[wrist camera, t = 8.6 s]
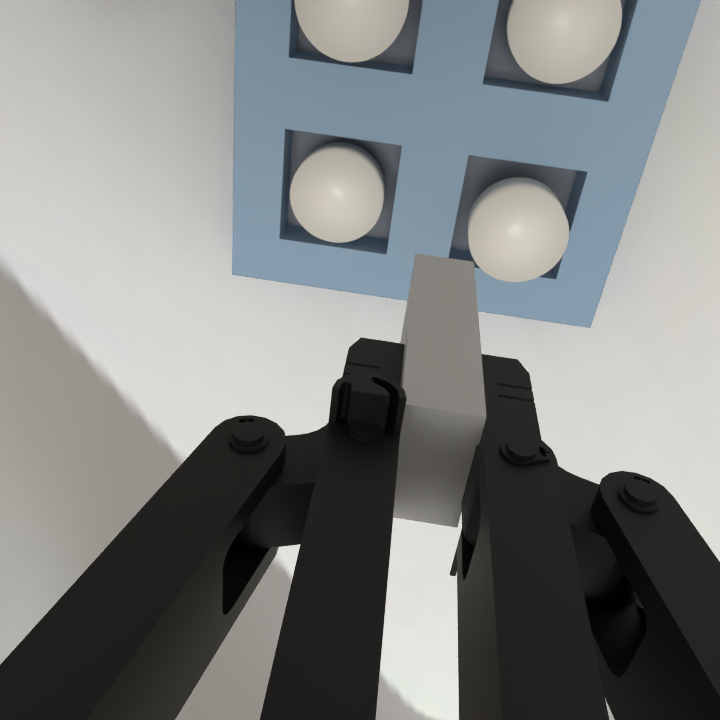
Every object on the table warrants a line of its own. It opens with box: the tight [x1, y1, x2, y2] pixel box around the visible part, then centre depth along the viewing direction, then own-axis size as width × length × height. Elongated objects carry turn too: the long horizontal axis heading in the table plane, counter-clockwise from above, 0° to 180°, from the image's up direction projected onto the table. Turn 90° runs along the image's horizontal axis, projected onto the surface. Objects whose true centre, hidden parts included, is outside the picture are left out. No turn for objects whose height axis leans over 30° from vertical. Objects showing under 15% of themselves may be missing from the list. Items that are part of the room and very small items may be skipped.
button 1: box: [290, 142, 386, 243], centre depth 39 cm, size 5×5×3 cm
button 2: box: [468, 177, 569, 282], centre depth 38 cm, size 5×5×3 cm
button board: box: [232, 0, 701, 328], centre depth 37 cm, size 22×22×3 cm
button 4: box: [505, 0, 622, 84], centre depth 34 cm, size 5×5×3 cm
